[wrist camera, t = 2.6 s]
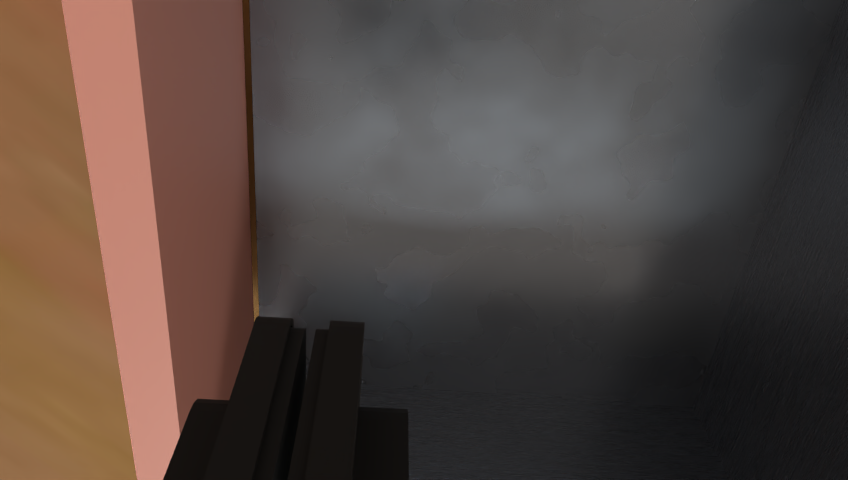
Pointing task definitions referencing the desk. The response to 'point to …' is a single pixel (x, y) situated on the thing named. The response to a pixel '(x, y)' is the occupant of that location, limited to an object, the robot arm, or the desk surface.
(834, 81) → the box
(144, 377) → the tailgate
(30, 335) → the desk surface
